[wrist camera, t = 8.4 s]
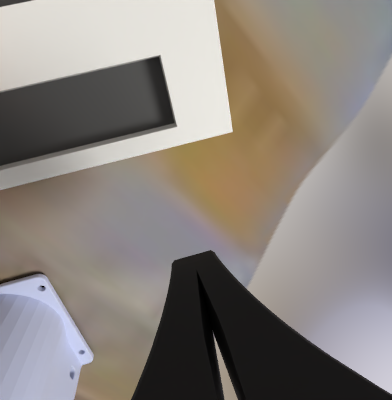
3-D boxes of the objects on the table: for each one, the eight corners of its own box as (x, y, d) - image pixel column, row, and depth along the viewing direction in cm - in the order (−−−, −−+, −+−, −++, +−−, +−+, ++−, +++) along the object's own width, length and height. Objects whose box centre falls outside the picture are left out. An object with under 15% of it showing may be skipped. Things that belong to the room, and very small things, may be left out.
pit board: (225, 127, 16) (232, 131, 15) (-50, 195, 15) (-69, 207, 14) (181, -159, 11) (186, -191, 10) (-244, -86, 10) (-304, -111, 9)
